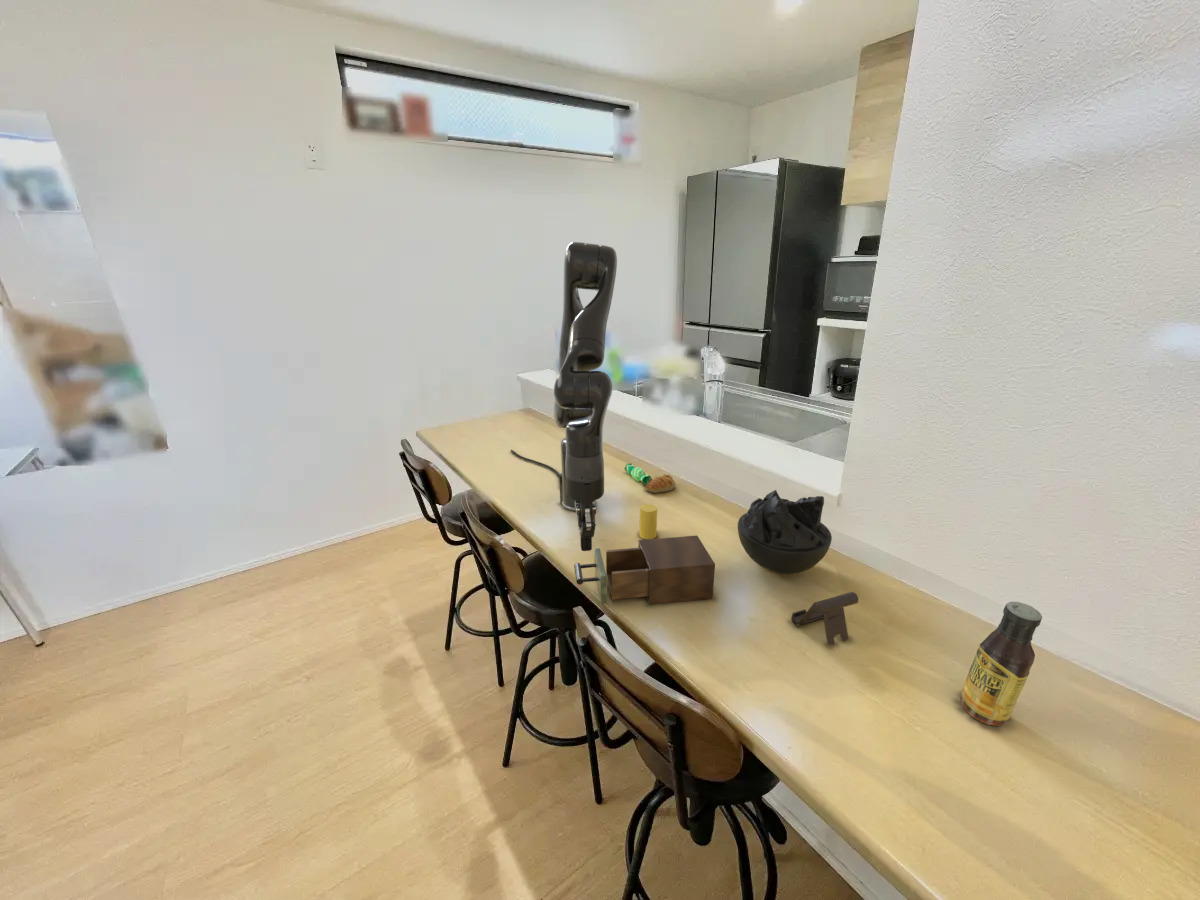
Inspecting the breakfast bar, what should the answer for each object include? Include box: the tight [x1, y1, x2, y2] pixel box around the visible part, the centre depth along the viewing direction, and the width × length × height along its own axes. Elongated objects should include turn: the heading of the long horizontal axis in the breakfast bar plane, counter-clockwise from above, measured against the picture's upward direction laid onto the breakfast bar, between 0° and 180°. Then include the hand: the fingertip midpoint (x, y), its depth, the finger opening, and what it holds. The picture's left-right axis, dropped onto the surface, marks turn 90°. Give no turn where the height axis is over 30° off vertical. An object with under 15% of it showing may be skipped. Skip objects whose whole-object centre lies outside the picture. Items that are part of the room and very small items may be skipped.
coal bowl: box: [737, 489, 833, 575], centre depth 111 cm, size 20×20×19 cm
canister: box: [639, 503, 658, 540], centre depth 127 cm, size 4×4×8 cm
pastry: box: [645, 473, 676, 494], centre depth 154 cm, size 9×7×4 cm
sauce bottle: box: [960, 601, 1043, 727], centre depth 73 cm, size 7×6×20 cm
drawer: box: [573, 547, 649, 605], centre depth 105 cm, size 17×10×7 cm, turn 98°
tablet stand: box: [790, 591, 859, 646], centre depth 93 cm, size 9×8×8 cm
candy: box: [624, 463, 653, 487], centre depth 162 cm, size 12×3×4 cm
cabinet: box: [637, 535, 716, 606], centre depth 107 cm, size 14×12×9 cm
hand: (586, 549), depth 102 cm, fingers closed
